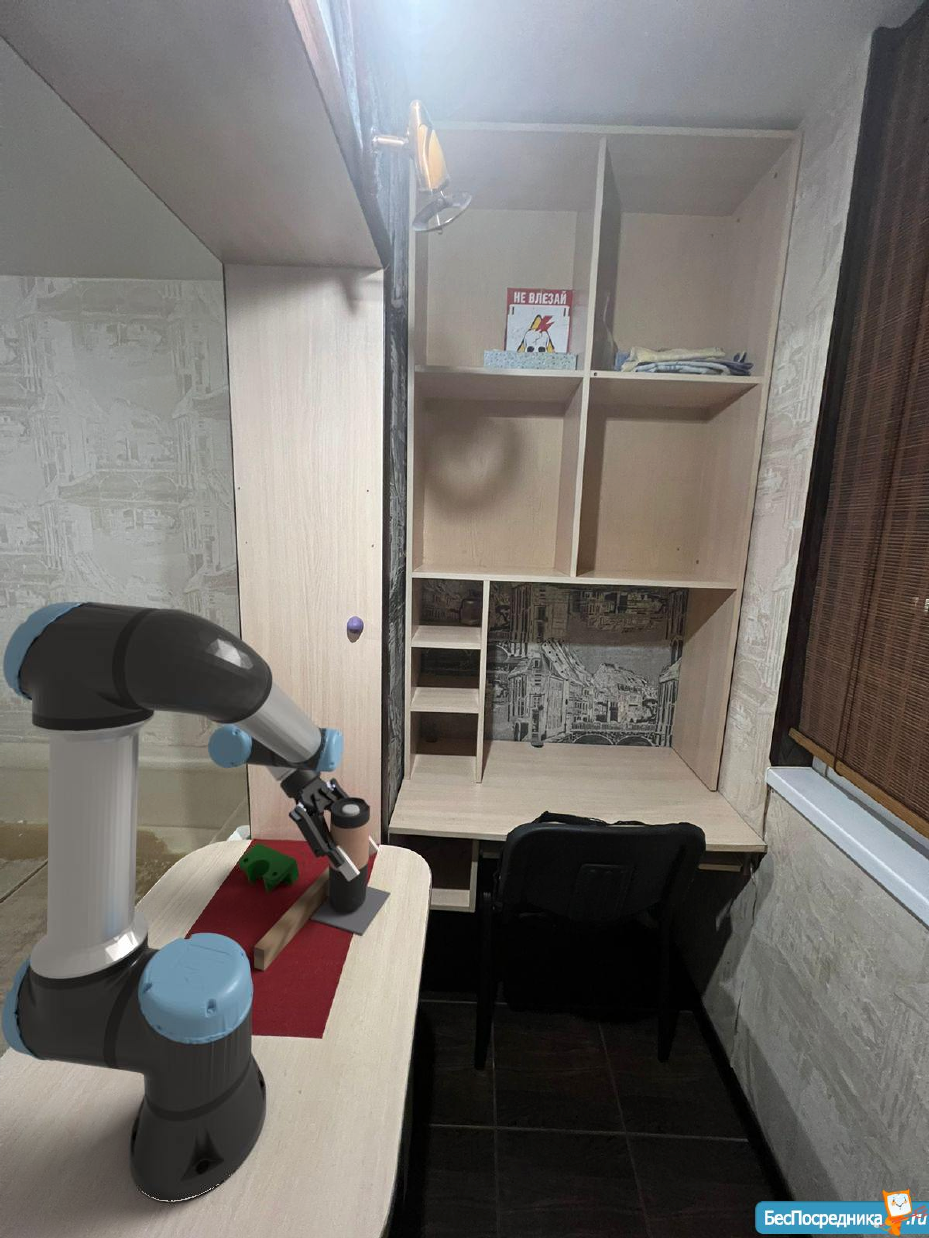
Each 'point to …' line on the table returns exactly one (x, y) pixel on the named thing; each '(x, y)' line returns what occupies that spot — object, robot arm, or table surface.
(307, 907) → the rail
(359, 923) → the end mat
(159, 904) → the table surface
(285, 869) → the clamp
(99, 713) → the robot arm
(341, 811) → the travel mug
